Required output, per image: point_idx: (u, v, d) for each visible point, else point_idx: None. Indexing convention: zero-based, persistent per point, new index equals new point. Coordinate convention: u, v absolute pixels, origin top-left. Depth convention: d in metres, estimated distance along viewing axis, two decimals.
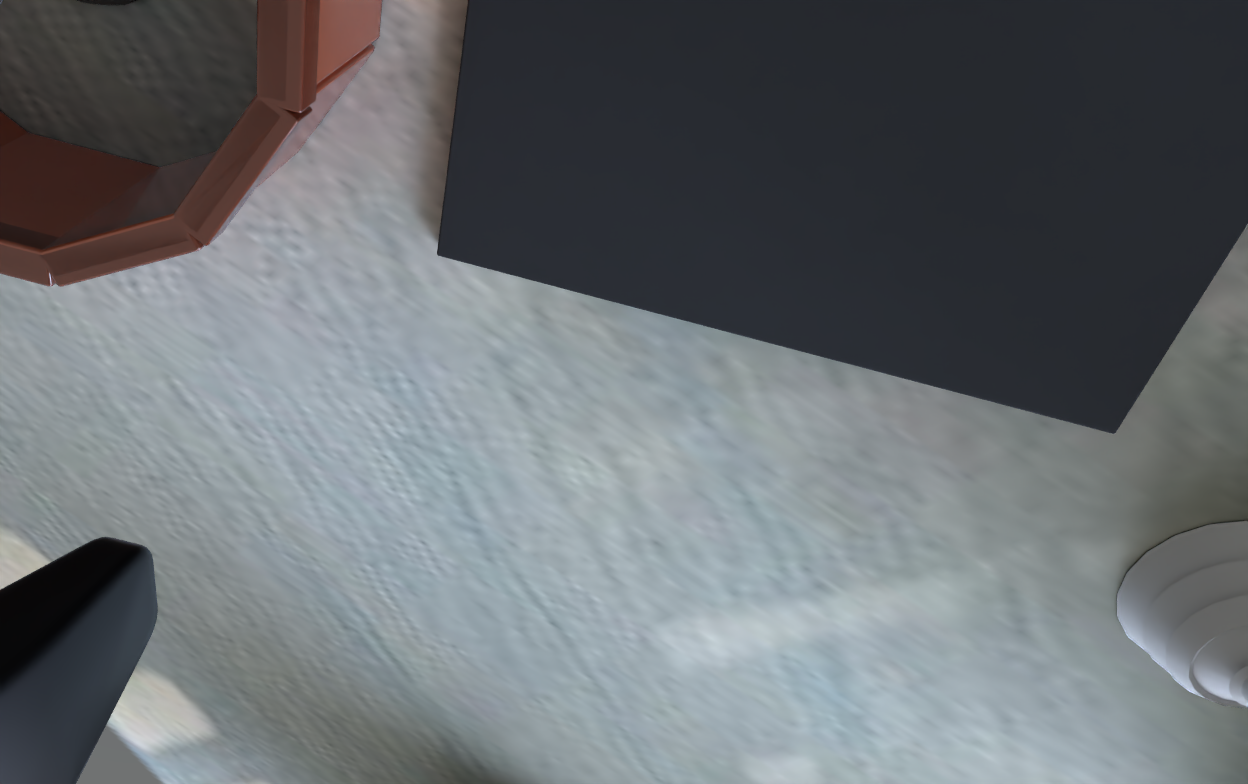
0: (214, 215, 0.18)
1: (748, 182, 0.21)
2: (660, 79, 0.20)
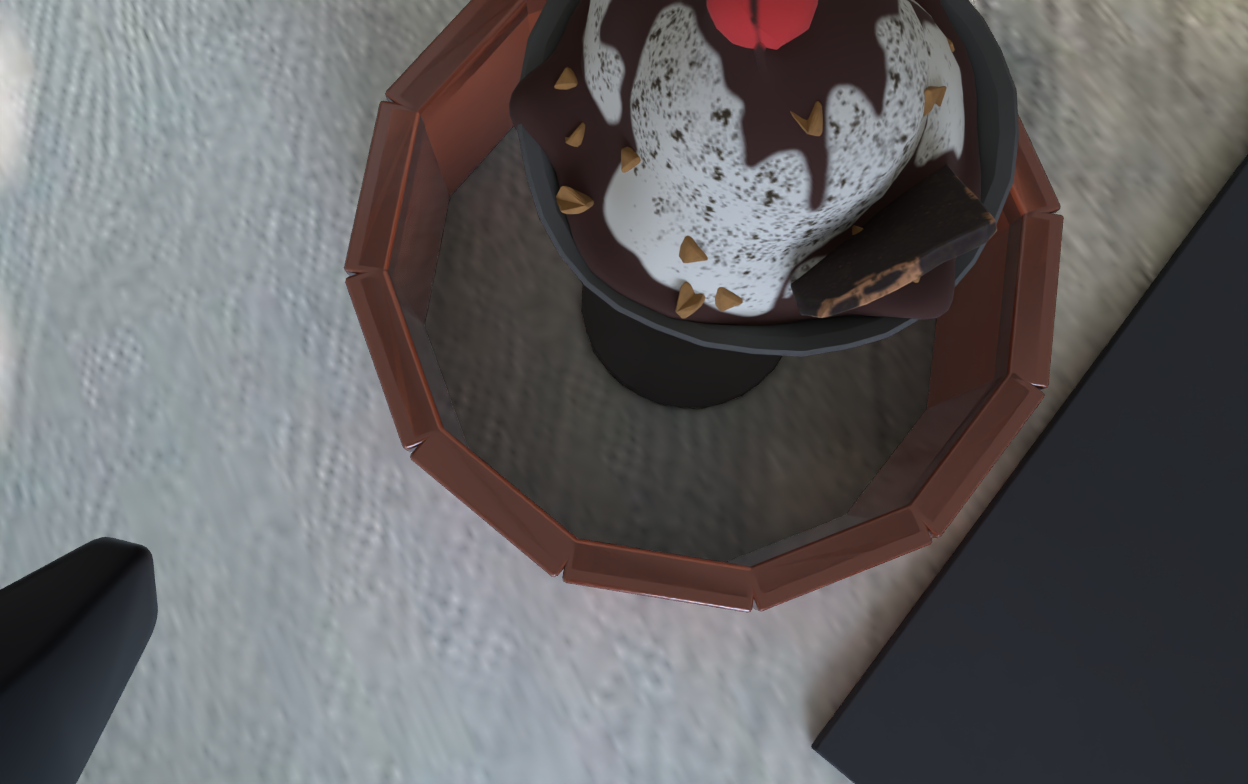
0: (792, 585, 0.18)
1: None
2: (1104, 676, 0.22)
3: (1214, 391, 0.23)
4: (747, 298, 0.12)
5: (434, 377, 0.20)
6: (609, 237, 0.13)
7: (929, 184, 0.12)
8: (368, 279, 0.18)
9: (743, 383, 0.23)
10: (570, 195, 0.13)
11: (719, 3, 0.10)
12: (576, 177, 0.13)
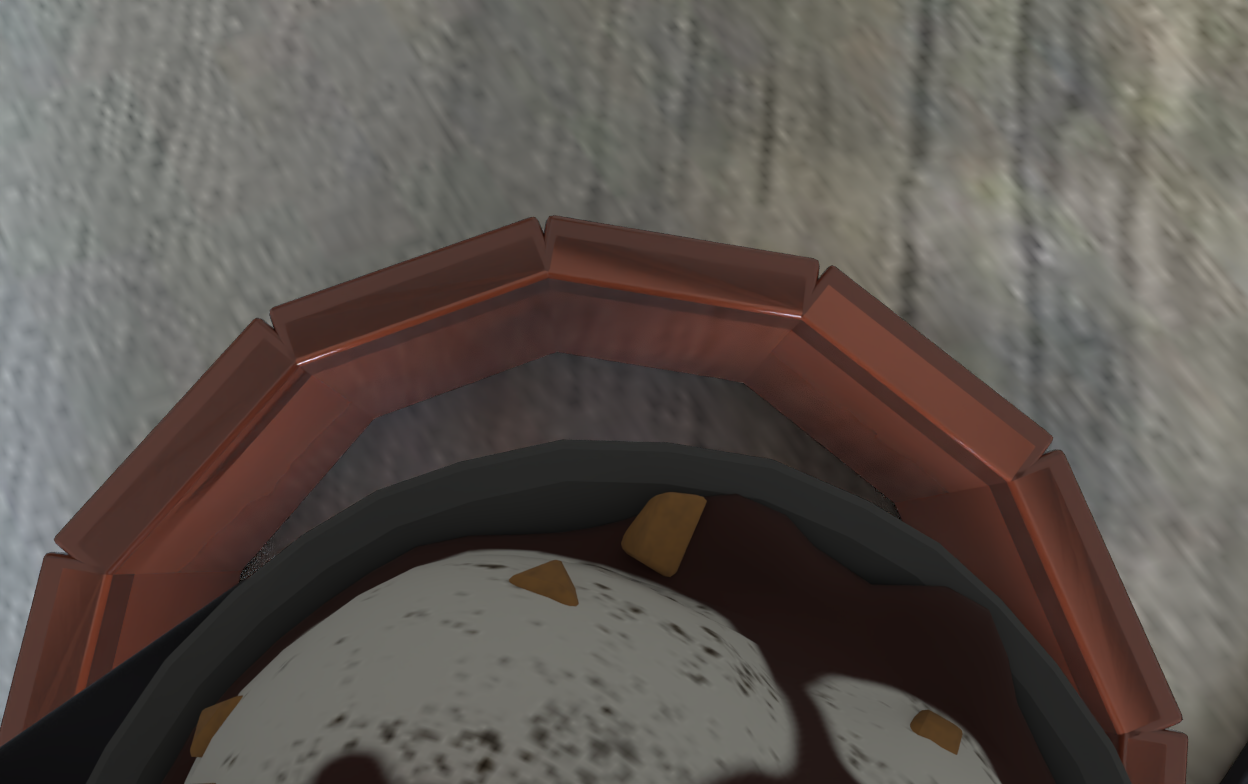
0: None
1: None
2: None
3: None
4: None
5: None
6: None
7: None
8: None
9: None
10: None
11: None
12: None
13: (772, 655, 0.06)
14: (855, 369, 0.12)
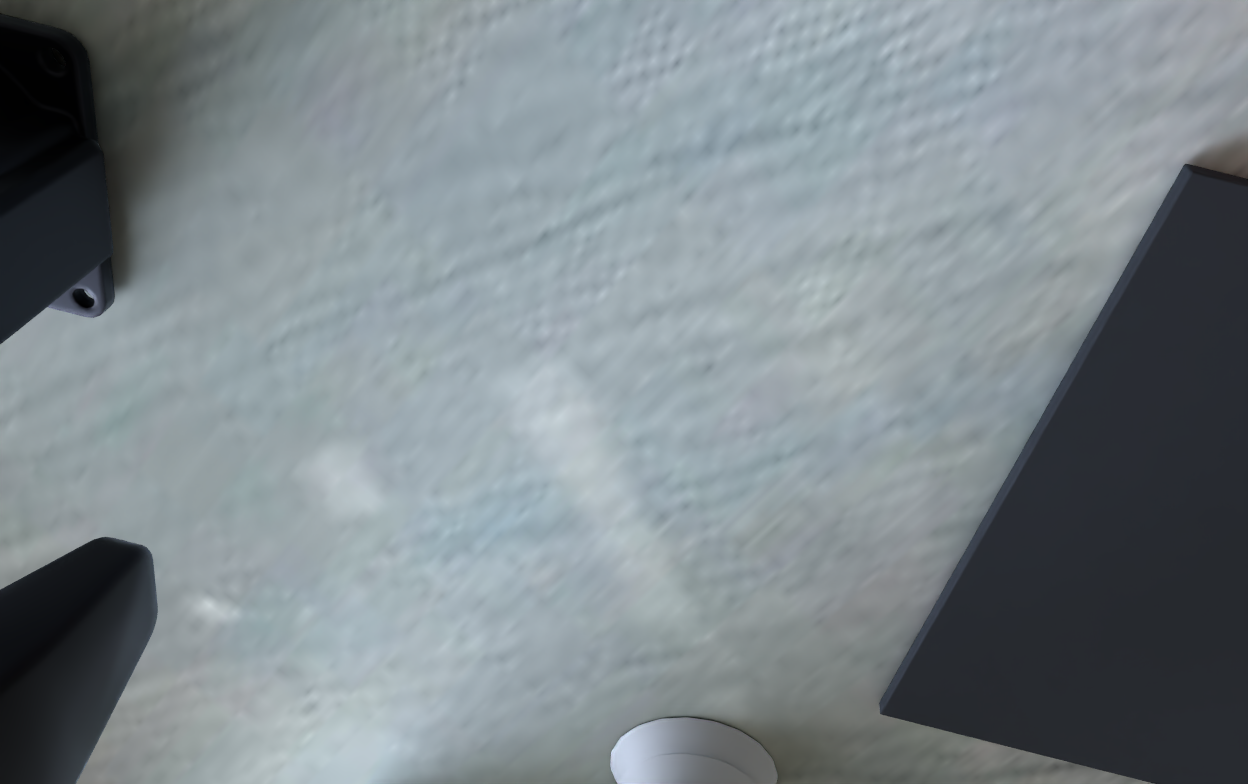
0: None
1: (1198, 481, 0.22)
2: None
3: None
4: None
5: None
6: None
7: None
8: None
9: None
10: None
11: None
12: None
13: None
14: None
